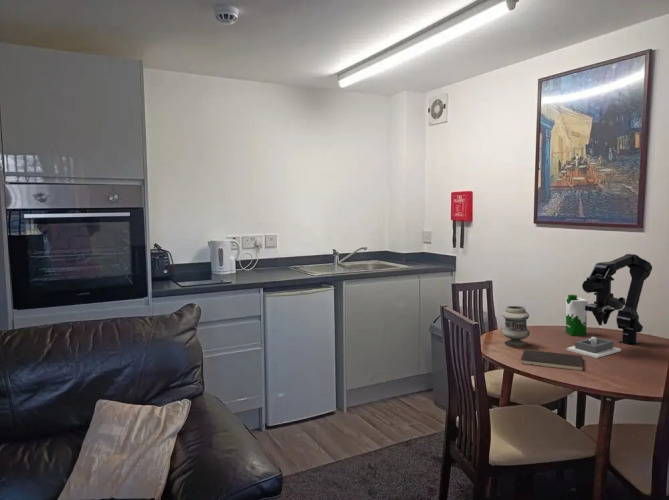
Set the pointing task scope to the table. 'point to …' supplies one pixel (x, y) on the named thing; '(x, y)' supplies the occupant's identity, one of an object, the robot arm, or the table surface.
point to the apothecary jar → (515, 325)
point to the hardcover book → (552, 359)
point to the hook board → (596, 355)
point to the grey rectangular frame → (600, 346)
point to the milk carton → (576, 316)
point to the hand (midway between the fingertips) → (602, 324)
